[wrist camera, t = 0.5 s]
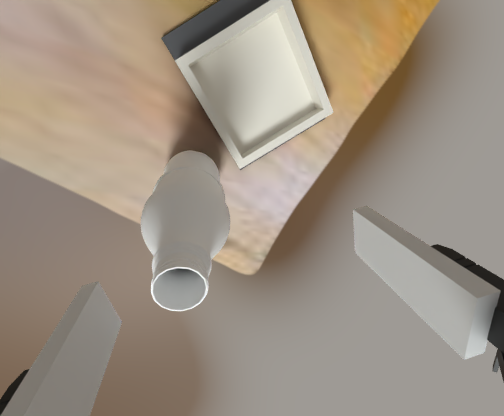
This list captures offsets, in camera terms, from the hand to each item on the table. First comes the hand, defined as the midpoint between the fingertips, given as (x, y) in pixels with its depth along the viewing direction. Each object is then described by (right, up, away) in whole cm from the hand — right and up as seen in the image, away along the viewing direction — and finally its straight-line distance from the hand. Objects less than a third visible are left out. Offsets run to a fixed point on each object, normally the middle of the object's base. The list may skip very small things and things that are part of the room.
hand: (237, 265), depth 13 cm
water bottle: (-8, +8, +24) cm, 26 cm away
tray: (+1, +18, +20) cm, 27 cm away
